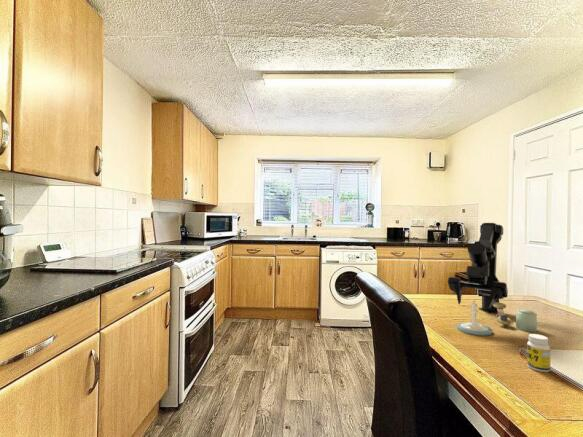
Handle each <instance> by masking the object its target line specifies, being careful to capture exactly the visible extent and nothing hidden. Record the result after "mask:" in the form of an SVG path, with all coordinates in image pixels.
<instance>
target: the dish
mask: <svg viewBox="0 0 583 437" xmlns="http://www.w3.org/2000/svg"><path fill="white" fill-rule="evenodd" d="M467 323H468V322H459V323H457V324H456V329H457V330H458V331H460V332H462V333H464V334H468V335H473V336H479V337H480V336H481V337H485V336H491V335H493V328H491V327H490V326H487V325H484V324H481V325H482V329H473V328H470V327H467Z"/></svg>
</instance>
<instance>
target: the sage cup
mask: <svg viewBox="0 0 583 437" xmlns="http://www.w3.org/2000/svg"><path fill="white" fill-rule="evenodd" d="M537 322H538V320H537V313H536V312H534V311H533V310H531V309H524V308H520V309H518V310H515V323H516V324H515V327H516V329H517V330H520V331H524V332H531V333H534V332H535V333H536V332H537V330H538V326H537V324H538V323H537Z"/></svg>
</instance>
